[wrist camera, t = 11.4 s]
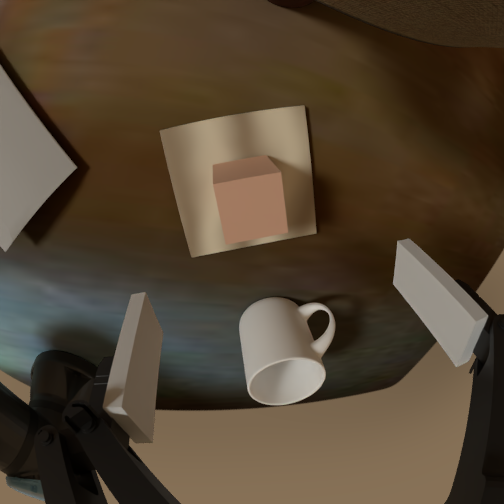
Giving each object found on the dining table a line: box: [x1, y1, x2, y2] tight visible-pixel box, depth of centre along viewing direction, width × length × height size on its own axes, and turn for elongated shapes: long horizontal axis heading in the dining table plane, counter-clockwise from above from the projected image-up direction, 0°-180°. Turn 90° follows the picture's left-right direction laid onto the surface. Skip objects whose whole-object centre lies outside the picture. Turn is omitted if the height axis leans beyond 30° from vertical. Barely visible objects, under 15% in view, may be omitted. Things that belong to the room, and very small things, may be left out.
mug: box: [239, 297, 335, 405], centre depth 35 cm, size 9×12×11 cm
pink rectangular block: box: [213, 155, 288, 245], centre depth 27 cm, size 5×5×7 cm
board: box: [160, 105, 316, 257], centre depth 31 cm, size 14×14×1 cm
